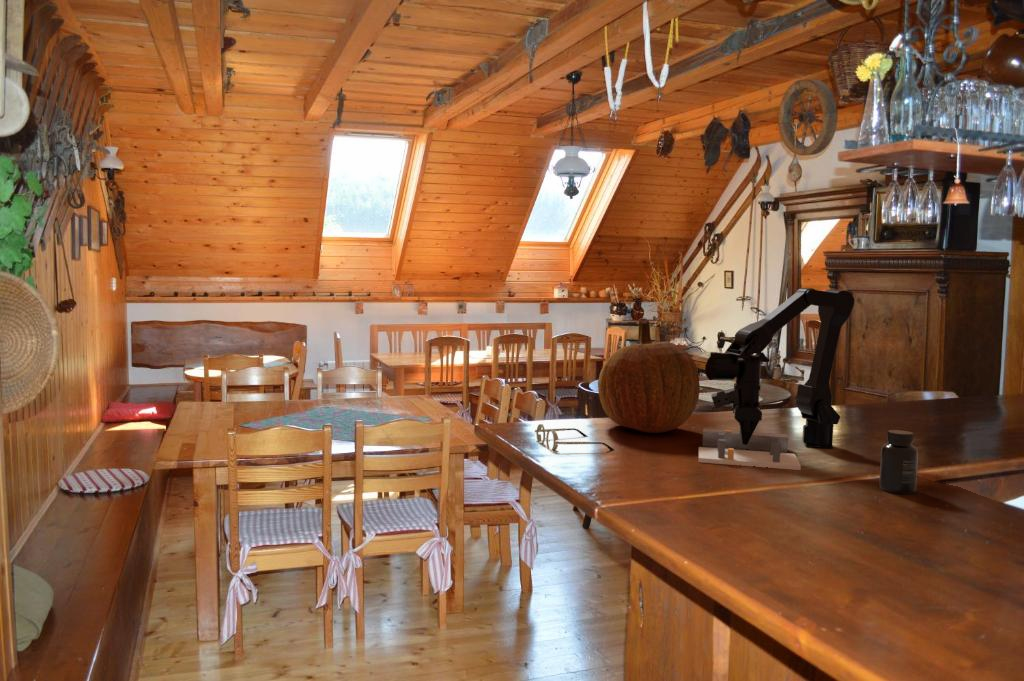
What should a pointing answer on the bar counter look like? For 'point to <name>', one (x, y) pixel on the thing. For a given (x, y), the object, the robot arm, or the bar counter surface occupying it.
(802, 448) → the bar counter surface
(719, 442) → the collar stand
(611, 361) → the pumpkin
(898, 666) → the bar counter surface
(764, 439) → the grey square bar
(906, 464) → the supplement bottle
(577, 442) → the eyeglasses
